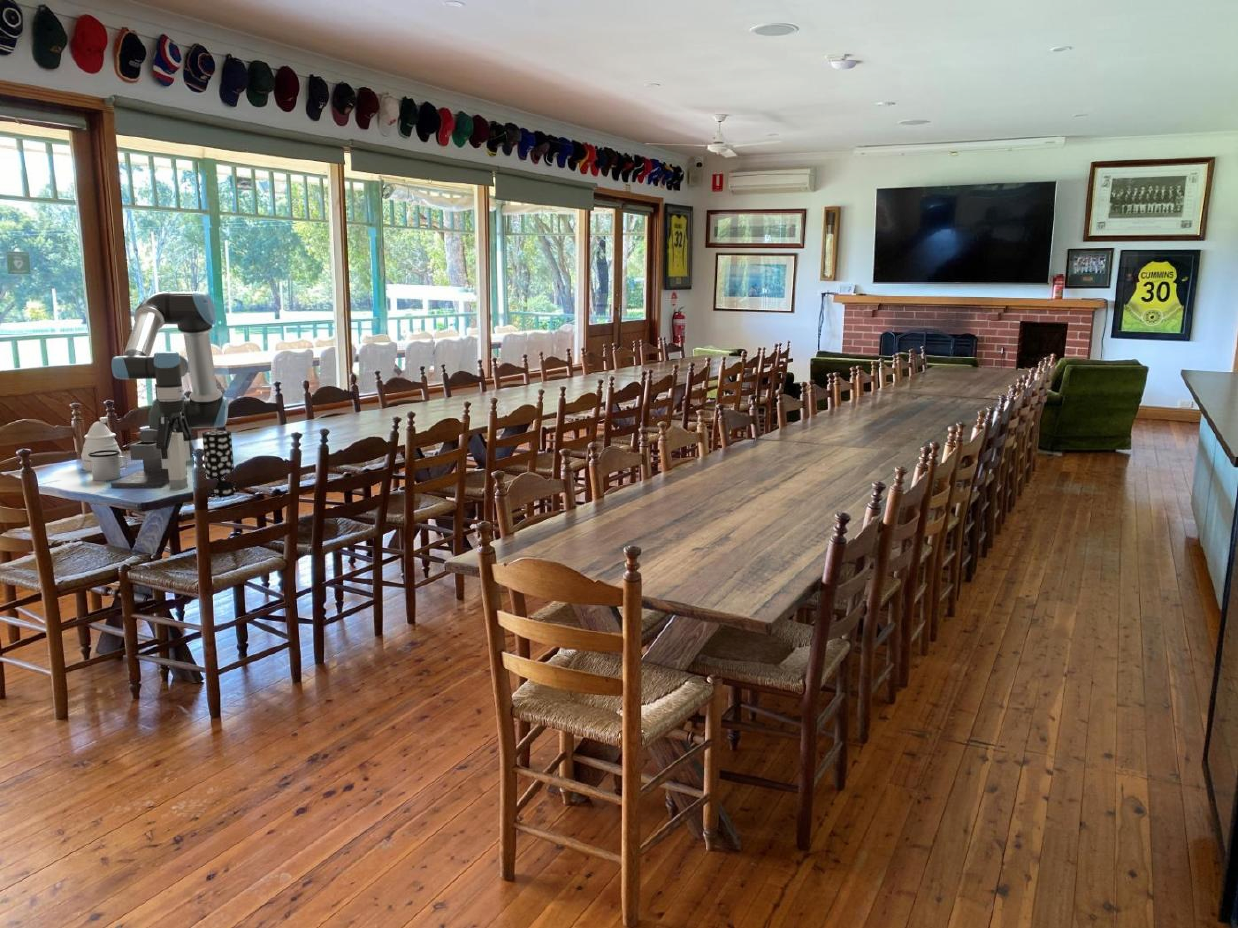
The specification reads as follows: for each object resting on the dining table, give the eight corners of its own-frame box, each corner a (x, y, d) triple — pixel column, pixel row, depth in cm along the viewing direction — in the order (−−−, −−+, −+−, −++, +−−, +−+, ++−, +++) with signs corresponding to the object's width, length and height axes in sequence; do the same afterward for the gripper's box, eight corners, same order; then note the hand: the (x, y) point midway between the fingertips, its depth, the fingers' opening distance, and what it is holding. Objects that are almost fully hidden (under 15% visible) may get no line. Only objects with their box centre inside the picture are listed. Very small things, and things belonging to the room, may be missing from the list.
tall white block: (175, 486, 304) (170, 432, 300) (187, 486, 304) (182, 432, 300) (170, 488, 300) (164, 434, 296) (182, 488, 300) (177, 434, 296)
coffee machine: (141, 474, 321) (136, 429, 318) (187, 474, 321) (183, 429, 318) (111, 487, 301) (106, 439, 298) (160, 487, 302) (155, 439, 298)
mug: (100, 482, 308) (97, 456, 306) (85, 479, 313) (82, 453, 311) (135, 476, 318) (132, 450, 316) (119, 473, 323) (117, 447, 321)
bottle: (172, 468, 331) (164, 385, 325) (147, 468, 331) (139, 385, 325) (185, 463, 340) (177, 382, 334) (160, 463, 340) (152, 382, 334)
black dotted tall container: (239, 491, 296) (235, 430, 292) (230, 497, 288) (224, 435, 284) (213, 491, 296) (208, 430, 292) (203, 497, 288) (197, 435, 284)
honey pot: (121, 462, 342) (116, 414, 338) (124, 468, 331) (119, 419, 328) (81, 465, 335) (75, 417, 331) (83, 472, 324) (78, 421, 321)
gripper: (164, 404, 284) (170, 472, 288) (199, 395, 308) (204, 457, 312) (139, 404, 284) (146, 472, 288) (176, 395, 308) (182, 457, 312)
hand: (176, 464), depth 300 cm, fingers open, 13 cm apart
